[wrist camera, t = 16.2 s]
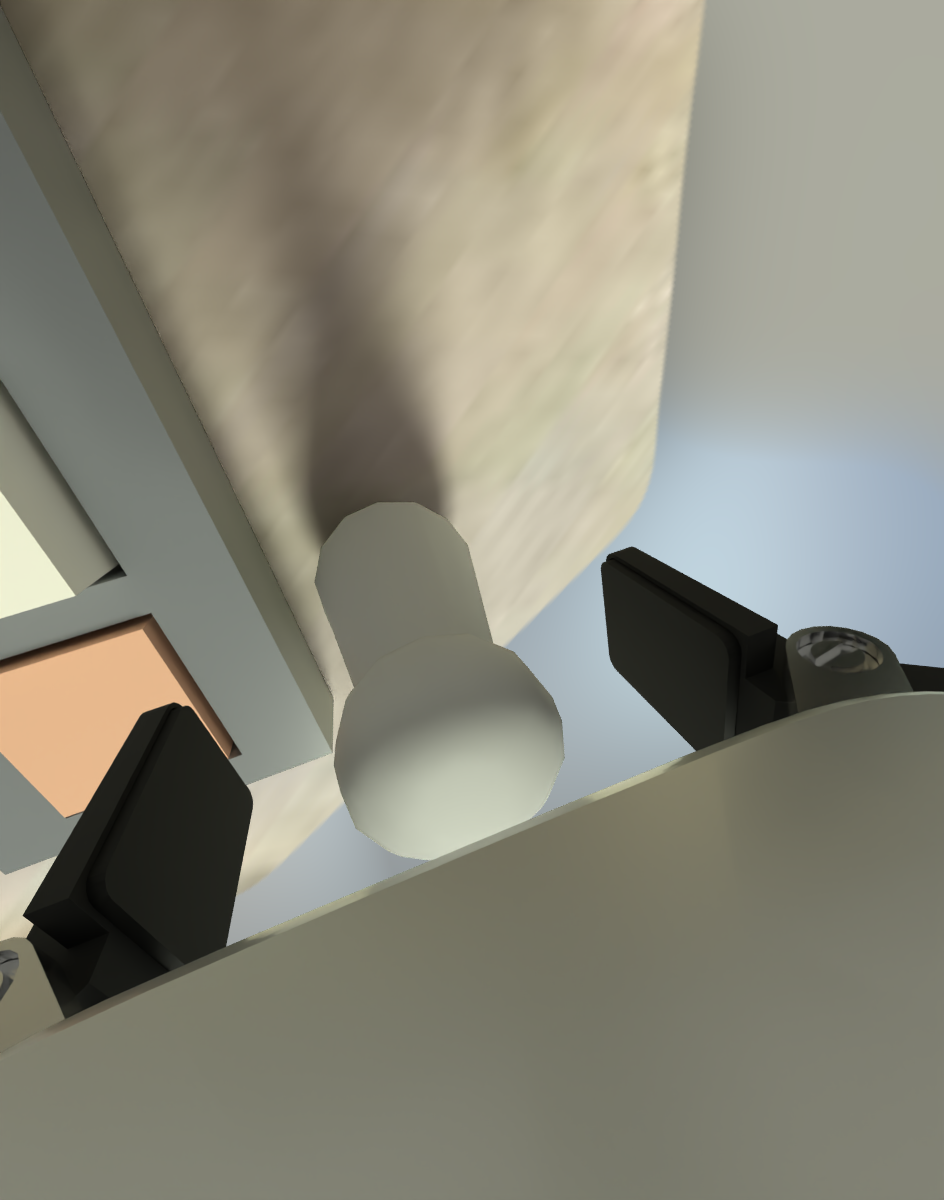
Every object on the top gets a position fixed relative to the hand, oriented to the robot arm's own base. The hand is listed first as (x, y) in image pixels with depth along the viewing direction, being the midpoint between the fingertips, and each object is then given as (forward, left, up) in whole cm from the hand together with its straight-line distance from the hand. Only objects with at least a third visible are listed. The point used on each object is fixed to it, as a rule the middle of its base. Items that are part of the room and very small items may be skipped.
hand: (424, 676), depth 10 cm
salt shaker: (+1, 0, -10) cm, 10 cm away
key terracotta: (+2, -10, -9) cm, 14 cm away
